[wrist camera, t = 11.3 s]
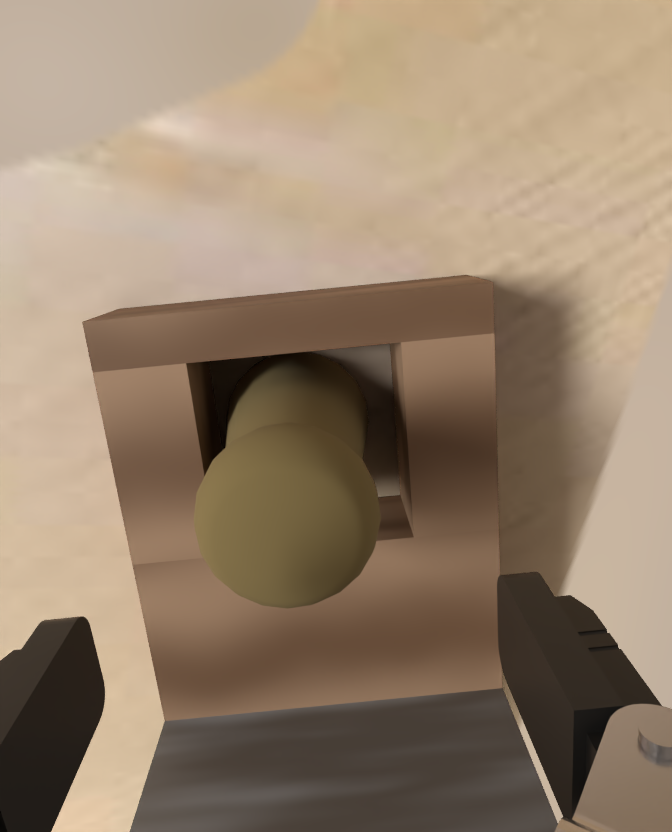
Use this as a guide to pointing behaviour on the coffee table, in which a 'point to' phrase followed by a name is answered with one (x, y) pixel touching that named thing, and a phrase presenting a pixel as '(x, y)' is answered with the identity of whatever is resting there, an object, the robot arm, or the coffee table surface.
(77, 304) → the coffee table surface
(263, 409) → the cork
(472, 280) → the socket stand
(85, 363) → the coffee table surface
